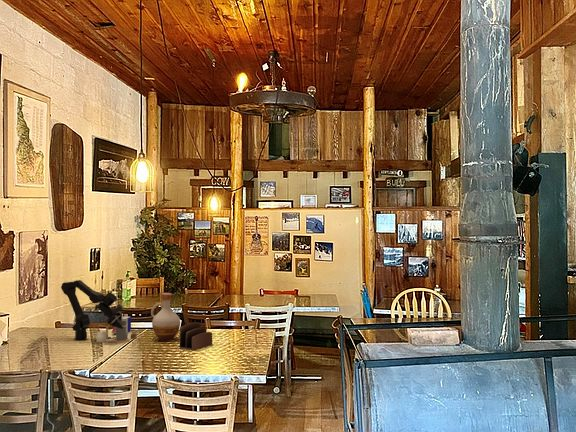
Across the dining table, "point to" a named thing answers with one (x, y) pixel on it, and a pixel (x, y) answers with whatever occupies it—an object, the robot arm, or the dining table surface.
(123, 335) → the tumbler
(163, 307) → the jug
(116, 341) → the tile
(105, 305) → the robot arm
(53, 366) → the dining table surface
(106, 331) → the balance
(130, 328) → the puzzle cube
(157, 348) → the dining table surface
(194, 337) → the letter holder
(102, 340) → the beige square piece
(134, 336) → the block
